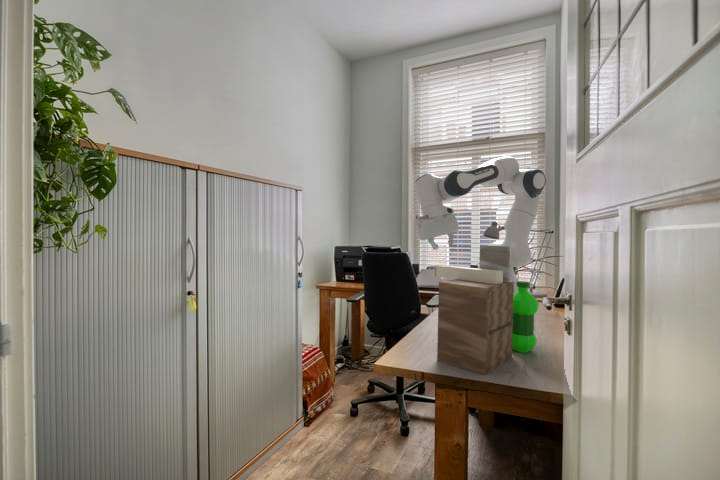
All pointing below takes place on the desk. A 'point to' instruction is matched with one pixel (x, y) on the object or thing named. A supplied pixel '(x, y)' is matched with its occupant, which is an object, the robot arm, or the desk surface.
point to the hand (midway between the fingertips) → (444, 246)
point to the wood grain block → (477, 317)
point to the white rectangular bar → (469, 274)
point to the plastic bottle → (523, 318)
